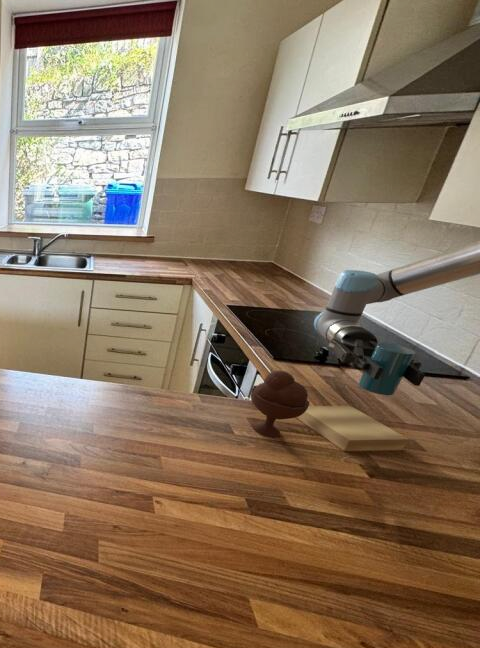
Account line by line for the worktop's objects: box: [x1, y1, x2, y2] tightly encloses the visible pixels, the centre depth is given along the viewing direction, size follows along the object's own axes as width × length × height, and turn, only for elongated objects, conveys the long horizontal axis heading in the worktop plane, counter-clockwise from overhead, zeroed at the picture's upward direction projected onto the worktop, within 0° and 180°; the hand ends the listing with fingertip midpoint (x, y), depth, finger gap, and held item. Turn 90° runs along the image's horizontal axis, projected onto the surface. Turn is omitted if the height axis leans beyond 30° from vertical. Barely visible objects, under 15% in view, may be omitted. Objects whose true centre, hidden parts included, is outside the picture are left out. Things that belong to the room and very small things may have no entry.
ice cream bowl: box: [250, 370, 310, 439], centre depth 92 cm, size 11×11×15 cm
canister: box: [357, 342, 416, 396], centre depth 89 cm, size 6×6×10 cm
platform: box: [295, 405, 410, 452], centre depth 95 cm, size 14×14×3 cm
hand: (398, 376), depth 84 cm, fingers closed on canister, 6 cm apart
